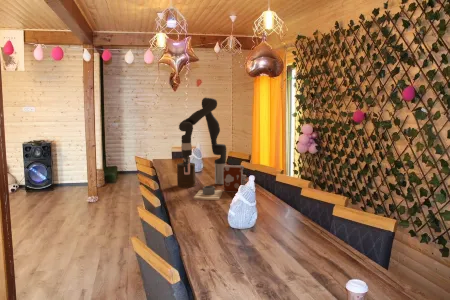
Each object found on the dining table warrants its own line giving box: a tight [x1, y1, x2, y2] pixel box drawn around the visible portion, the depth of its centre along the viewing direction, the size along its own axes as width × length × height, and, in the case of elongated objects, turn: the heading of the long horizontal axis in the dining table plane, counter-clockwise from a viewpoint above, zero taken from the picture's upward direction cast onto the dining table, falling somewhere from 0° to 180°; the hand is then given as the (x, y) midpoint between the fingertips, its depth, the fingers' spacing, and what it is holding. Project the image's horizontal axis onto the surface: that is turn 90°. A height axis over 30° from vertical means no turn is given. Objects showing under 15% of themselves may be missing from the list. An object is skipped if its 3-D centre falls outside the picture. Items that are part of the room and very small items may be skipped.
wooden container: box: [176, 162, 196, 188], centre depth 332 cm, size 15×15×22 cm
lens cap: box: [184, 162, 191, 175], centre depth 301 cm, size 4×4×8 cm
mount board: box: [193, 189, 224, 201], centre depth 297 cm, size 24×18×2 cm
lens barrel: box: [202, 185, 216, 195], centre depth 297 cm, size 8×8×5 cm
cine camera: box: [222, 164, 249, 193], centre depth 309 cm, size 9×19×20 cm, turn 78°
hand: (187, 171), depth 301 cm, fingers closed on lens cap, 4 cm apart
